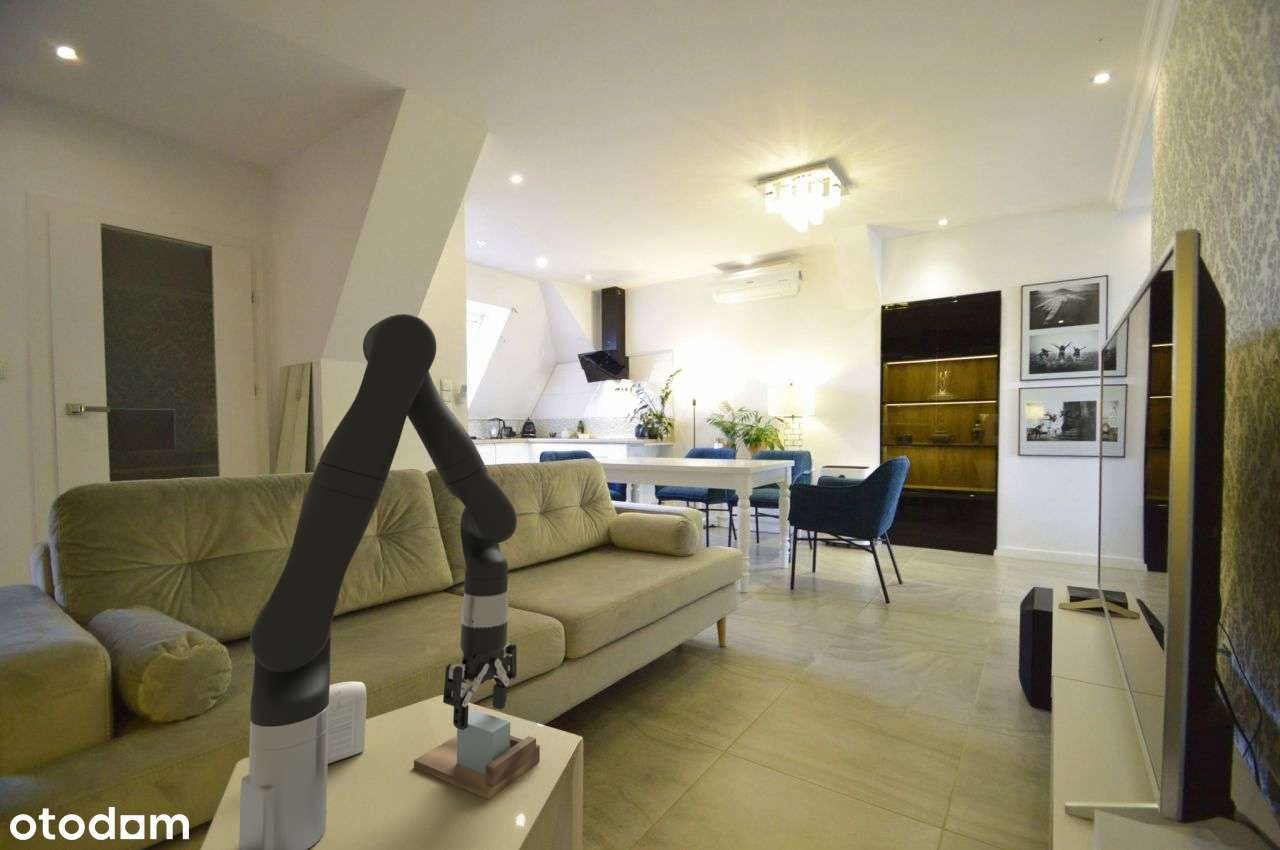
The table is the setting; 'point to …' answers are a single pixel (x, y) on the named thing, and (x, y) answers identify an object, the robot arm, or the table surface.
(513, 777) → the board
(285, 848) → the robot arm
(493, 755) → the tall pale blue block
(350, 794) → the table surface
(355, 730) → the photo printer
